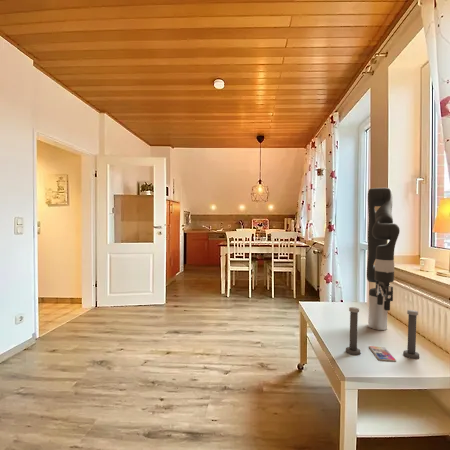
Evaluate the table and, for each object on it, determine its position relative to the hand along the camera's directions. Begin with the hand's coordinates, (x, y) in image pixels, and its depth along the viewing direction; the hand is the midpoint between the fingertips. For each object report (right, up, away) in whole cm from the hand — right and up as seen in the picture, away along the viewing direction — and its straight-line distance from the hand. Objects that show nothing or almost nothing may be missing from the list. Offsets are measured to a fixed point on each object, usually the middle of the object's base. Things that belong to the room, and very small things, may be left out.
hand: (383, 307), depth 146 cm
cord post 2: (+12, -21, -1) cm, 24 cm away
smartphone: (0, -21, +1) cm, 21 cm away
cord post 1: (-12, -20, +2) cm, 24 cm away
